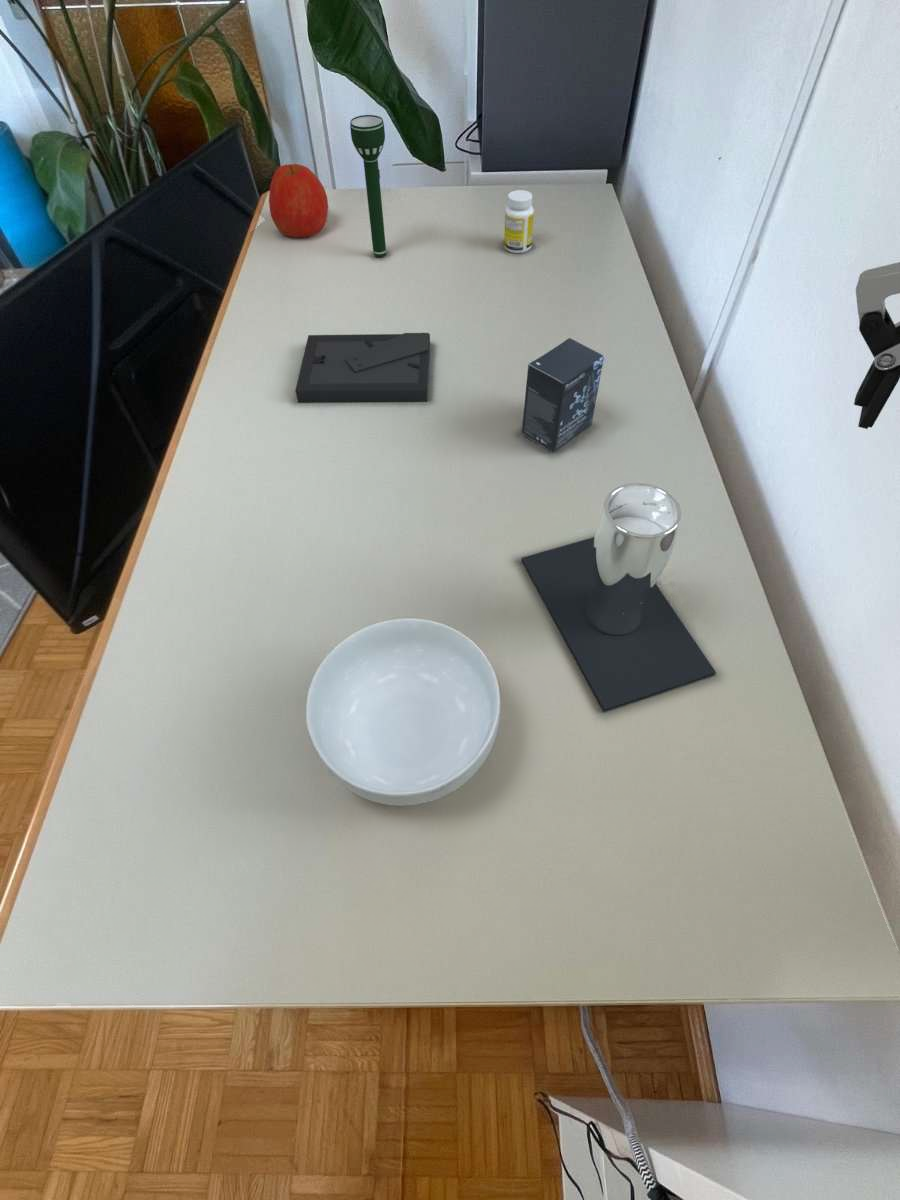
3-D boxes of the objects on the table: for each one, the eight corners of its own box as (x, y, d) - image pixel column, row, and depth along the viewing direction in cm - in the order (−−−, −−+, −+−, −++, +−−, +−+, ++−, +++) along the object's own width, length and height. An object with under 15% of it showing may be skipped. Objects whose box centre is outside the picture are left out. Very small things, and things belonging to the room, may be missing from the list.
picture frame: (430, 345, 103) (310, 346, 103) (429, 331, 101) (307, 332, 101) (427, 401, 95) (297, 402, 95) (426, 387, 93) (294, 388, 93)
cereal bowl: (322, 664, 69) (309, 623, 64) (487, 652, 70) (489, 610, 64) (314, 833, 59) (298, 802, 54) (508, 817, 60) (513, 785, 54)
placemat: (714, 675, 68) (716, 672, 67) (603, 712, 66) (604, 709, 65) (618, 533, 79) (619, 529, 79) (521, 561, 77) (521, 557, 77)
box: (554, 455, 88) (563, 383, 79) (520, 434, 90) (526, 362, 82) (593, 426, 91) (606, 354, 82) (559, 407, 93) (569, 335, 85)
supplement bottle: (523, 238, 122) (526, 186, 115) (536, 250, 119) (540, 197, 113) (499, 244, 121) (500, 192, 114) (511, 256, 118) (513, 203, 112)
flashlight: (401, 254, 120) (390, 119, 104) (380, 265, 117) (366, 130, 101) (379, 245, 122) (366, 112, 106) (359, 256, 119) (342, 122, 103)
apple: (332, 215, 129) (323, 151, 121) (329, 241, 123) (319, 177, 115) (277, 217, 129) (264, 154, 121) (271, 244, 123) (257, 179, 114)
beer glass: (565, 613, 72) (585, 511, 60) (605, 574, 75) (631, 469, 63) (622, 651, 69) (654, 551, 57) (660, 609, 72) (699, 506, 60)
